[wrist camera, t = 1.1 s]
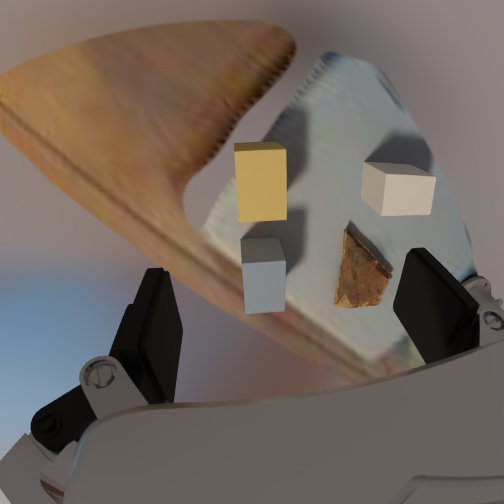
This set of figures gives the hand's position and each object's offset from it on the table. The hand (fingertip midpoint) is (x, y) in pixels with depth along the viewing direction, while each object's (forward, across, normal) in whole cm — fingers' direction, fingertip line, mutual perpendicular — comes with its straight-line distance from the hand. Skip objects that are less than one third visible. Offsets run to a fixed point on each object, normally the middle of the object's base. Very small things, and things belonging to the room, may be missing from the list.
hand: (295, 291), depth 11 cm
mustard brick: (+19, 0, 0) cm, 19 cm away
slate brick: (+19, 0, +10) cm, 21 cm away
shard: (+19, -11, +13) cm, 26 cm away
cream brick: (+19, -14, +1) cm, 24 cm away
